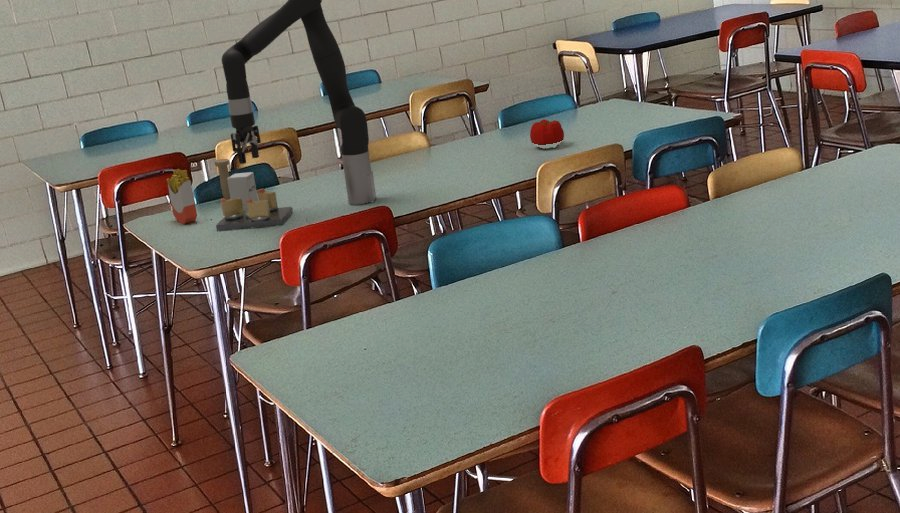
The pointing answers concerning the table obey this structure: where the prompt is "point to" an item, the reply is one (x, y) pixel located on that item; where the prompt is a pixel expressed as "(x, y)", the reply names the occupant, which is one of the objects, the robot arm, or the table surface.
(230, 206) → the knob
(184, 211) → the french fries container
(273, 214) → the base plate
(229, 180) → the supplement box
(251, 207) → the knob
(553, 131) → the tomato
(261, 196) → the knob
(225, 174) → the handle
